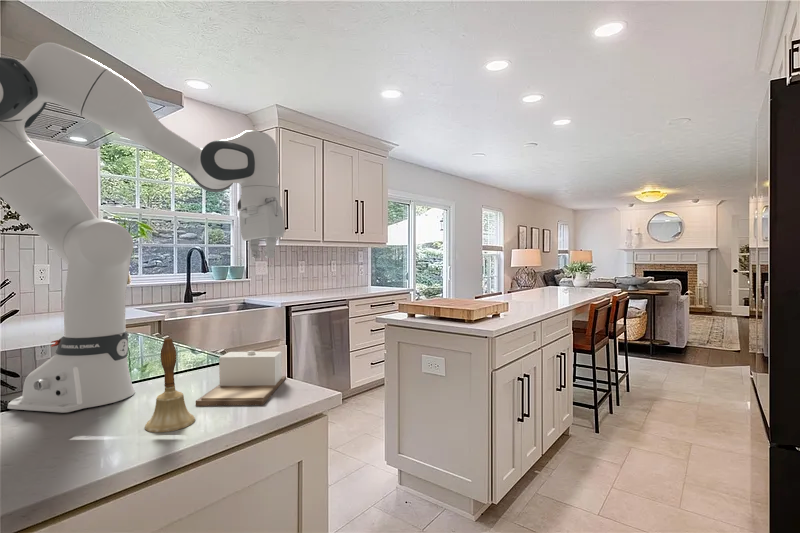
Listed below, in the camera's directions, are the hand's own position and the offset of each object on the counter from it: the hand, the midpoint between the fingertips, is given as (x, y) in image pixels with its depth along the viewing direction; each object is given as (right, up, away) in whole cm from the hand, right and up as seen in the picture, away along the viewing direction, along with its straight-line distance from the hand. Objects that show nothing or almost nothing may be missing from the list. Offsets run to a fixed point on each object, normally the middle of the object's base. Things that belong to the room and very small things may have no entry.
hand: (262, 258), depth 105 cm
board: (-3, -31, -5) cm, 31 cm away
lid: (-3, -30, 0) cm, 30 cm away
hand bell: (-9, -32, -24) cm, 41 cm away
